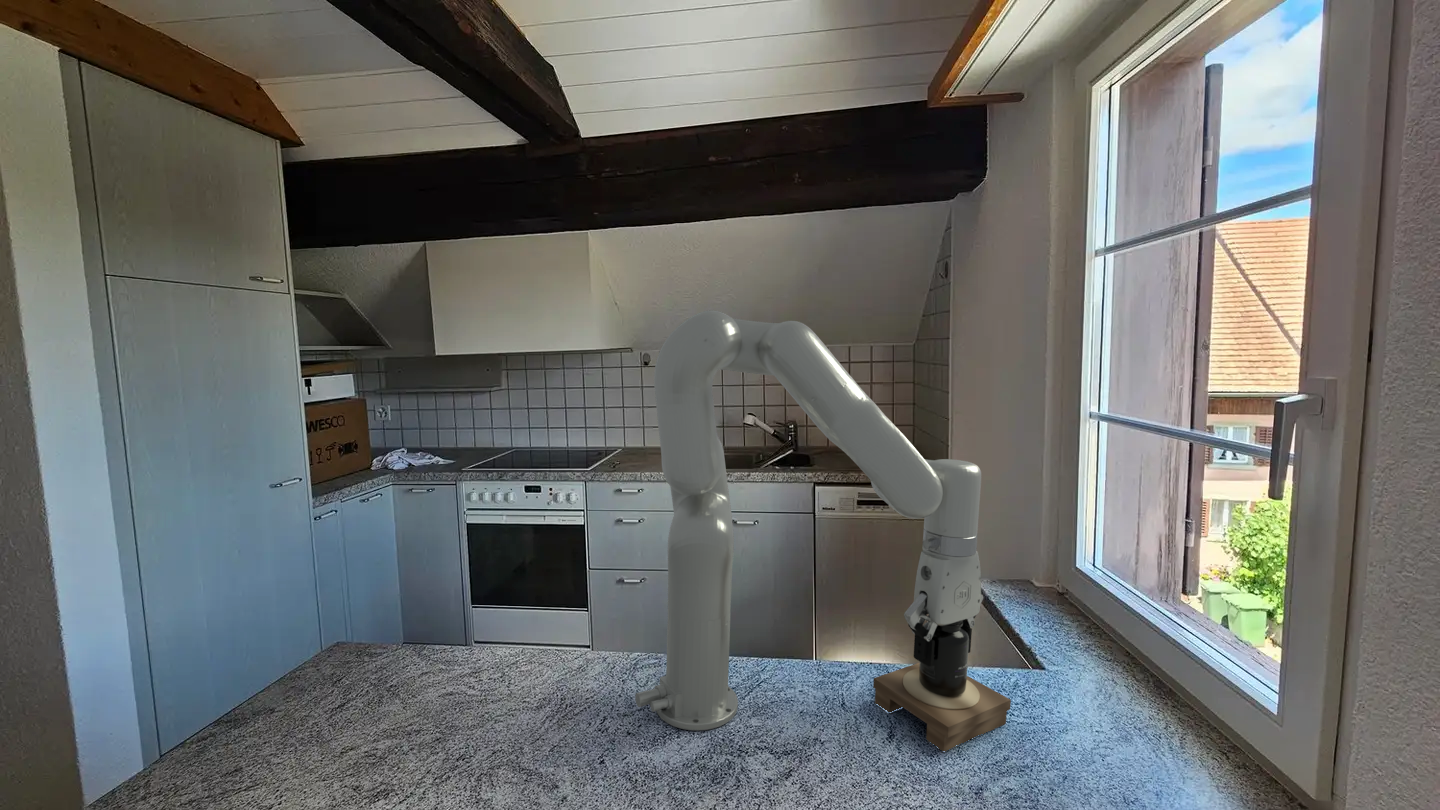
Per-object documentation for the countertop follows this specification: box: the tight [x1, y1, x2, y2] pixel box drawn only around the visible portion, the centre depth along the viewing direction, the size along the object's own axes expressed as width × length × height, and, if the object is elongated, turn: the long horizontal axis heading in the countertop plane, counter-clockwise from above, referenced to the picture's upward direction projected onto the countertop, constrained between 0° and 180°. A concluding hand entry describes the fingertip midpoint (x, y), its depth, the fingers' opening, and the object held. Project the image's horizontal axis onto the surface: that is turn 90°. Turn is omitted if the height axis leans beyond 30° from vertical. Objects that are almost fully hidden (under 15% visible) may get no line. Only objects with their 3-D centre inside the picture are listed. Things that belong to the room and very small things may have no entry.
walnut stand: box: [872, 661, 1012, 752], centre depth 91 cm, size 14×14×4 cm
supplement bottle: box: [919, 614, 969, 697], centre depth 90 cm, size 7×7×12 cm
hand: (942, 655), depth 90 cm, fingers open, 7 cm apart
